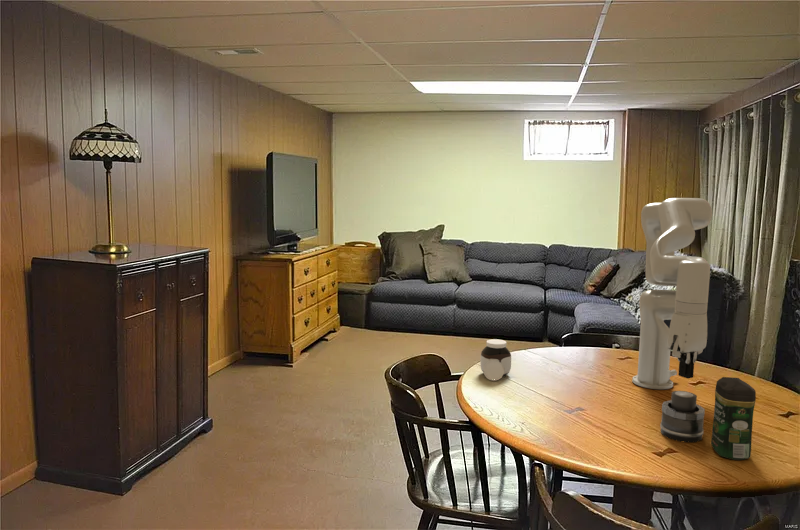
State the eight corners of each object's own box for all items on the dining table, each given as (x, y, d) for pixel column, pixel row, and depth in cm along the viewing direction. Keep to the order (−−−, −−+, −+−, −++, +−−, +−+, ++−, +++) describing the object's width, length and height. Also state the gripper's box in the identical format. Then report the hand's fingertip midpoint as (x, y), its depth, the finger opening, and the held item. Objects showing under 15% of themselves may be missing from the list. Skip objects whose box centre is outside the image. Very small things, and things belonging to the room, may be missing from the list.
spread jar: (502, 369, 217) (503, 337, 216) (519, 379, 207) (520, 346, 205) (472, 373, 213) (473, 340, 212) (487, 383, 203) (488, 349, 201)
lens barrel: (677, 424, 170) (679, 397, 169) (711, 438, 161) (714, 410, 160) (651, 431, 165) (653, 403, 164) (685, 445, 156) (687, 417, 155)
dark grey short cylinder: (680, 407, 166) (681, 388, 165) (700, 414, 161) (701, 395, 160) (665, 411, 163) (666, 392, 162) (685, 418, 158) (686, 399, 157)
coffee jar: (706, 443, 157) (712, 373, 155) (739, 445, 156) (745, 375, 154) (719, 460, 148) (725, 386, 145) (754, 463, 147) (762, 388, 144)
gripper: (696, 303, 165) (691, 369, 167) (658, 307, 158) (654, 376, 160) (722, 308, 158) (717, 376, 161) (684, 313, 151) (679, 385, 154)
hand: (685, 376), depth 161 cm, fingers closed
